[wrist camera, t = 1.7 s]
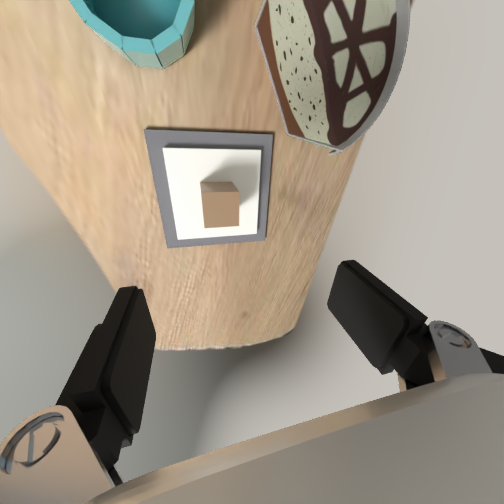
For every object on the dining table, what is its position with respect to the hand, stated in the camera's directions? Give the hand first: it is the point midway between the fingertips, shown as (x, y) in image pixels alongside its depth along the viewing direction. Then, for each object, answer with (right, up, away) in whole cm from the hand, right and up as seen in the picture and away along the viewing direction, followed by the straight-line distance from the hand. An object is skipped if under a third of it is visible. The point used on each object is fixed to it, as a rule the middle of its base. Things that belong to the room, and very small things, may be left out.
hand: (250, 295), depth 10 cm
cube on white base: (-4, +9, +14) cm, 17 cm away
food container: (+5, +20, +11) cm, 24 cm away
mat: (-4, +9, +15) cm, 18 cm away
